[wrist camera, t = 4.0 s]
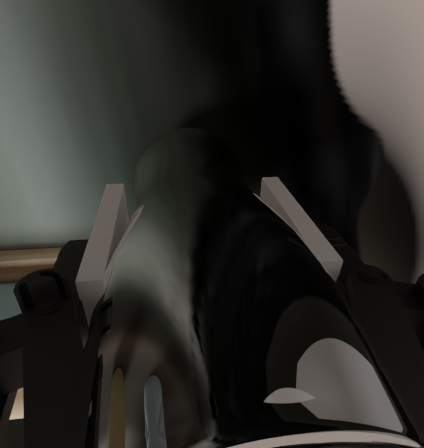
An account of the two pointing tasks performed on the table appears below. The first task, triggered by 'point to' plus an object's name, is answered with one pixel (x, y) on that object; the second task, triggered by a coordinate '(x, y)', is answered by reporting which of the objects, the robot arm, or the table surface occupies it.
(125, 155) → the table surface
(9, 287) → the block
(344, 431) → the beer glass
